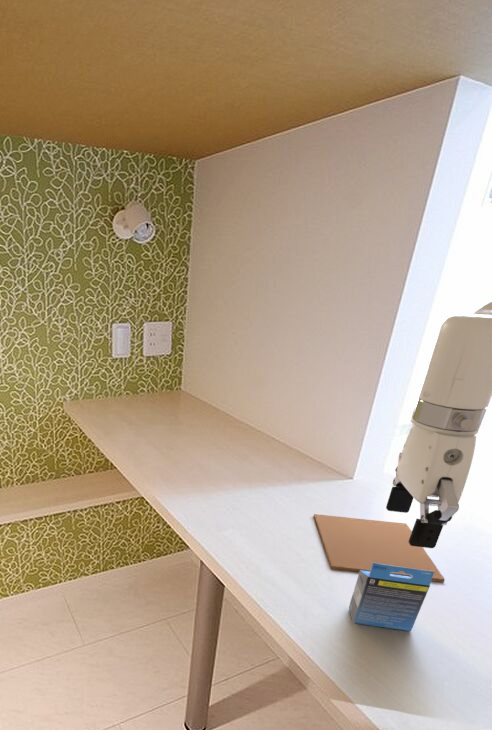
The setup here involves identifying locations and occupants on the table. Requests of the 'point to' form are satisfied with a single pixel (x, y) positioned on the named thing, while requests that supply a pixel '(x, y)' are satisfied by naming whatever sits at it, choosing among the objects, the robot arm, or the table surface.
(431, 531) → the robot arm
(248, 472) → the table surface
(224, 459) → the table surface
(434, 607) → the table surface
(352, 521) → the cork mat
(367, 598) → the label tape box
